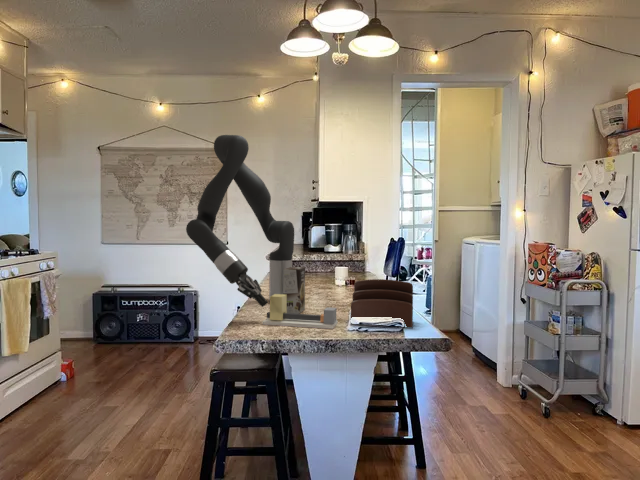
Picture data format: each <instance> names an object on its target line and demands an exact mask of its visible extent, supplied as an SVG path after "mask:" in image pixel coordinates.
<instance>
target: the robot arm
mask: <svg viewBox="0 0 640 480" xmlns="http://www.w3.org/2000/svg"><path fill="white" fill-rule="evenodd" d="M249 147H250V146H249V143H248V141H247V139H246V138H245V137H244V136H243V135H238V134H221V135H219V136H216V138H215V139H214V142H213V150H214V153H215V156H216V157H217V158H218V160H219V161H220V162H221V164H222V166H221V167H220V169H219V171H218V172H217V173H216V174H215V176H214V177H213V178H212V179H211V181H210V182H208V184H207V185H206V187H205V188H204V190H203V192H202V194H201V197H200V200H199V202H198V204H197V207H196V208H197V209H196V210H197V216H196V218H195V219H192V220H190V221H189V222H188V223H187V224H186V227H185V232H186V234H187V236H188V238H189V239H190V240H192V242H194V244H195V245H197V246H198V248H199V249H200V250H202V251H203V252H204V254H205V255H206V256H207V258H208V259H209V260H210V261H211V263H212V264H213V265H214V266H215V268H216V269H217V270H218V271H219V273H221V274H222V276H223V277H224V278H225V279H226V280H227V281H228V282H229V283H230V284H235V283H236V285H237V286H238V287H237V289H236V290H237V291H238V292H239V293H241V294H243V295H244V296H246V297H247V298H249V299H253V300H255V301H256V303H258V304H259V306H261V307H265V306H266V305H267V304H268V300H267V299H266V298H265V296H264V295H262V288H261V286H260V284H259V282H258V280H257V279H254V280H253V278H252V277H251V276H250V275H249V274H247V273H248V271H249V268H248V267H247V266H246V265H245V264H244V262H243V261H242V260H241V259H240V258H239V257H238V256H237V255H236V254H235V252H233V251H232V250H231V249H230V247H228V246H227V245H226V244H225V242H223V241H222V240H221V239H220V238H218V236H216V234H215V233H214V232H213V231H214V227H215V224H216V219H217V215H218V213H219V210H220V209H221V205H222V203H223V200H224V198H225V196H226V193H227V191H228V190H229V187H230V186H231V183H232V182H233V180H234V183H235V184H236V186H237V187H238V188H239V190H240V192H241V194H242V196H243V197H244V199H245V201H246V203H247V204H248V205H249V207H250V208H251V210H252V211H253V212H252V213H254V215H255V217H256V219H257V221H258V223H259V225H260V227H261V230H262V232H263V234H264V236H265V238H266V239H267V241H268V242H270V243H273V244H278V245H279V246H278V248H277V249H276V250H274V251H272V252H270V253H269V276H268V277H269V294H268V295H269V296H268V297H269V298H268V299H269V303H270V296H272V295H274V294H283V269H286V268H289V267H293V254H294V249H295V248H294V245H295V227H294V224H293V223H292V222H291V221H289V220H276V219H275V218H274V217H273V215H272V213H271V211H270V209H271V199H272V197H271V193H270V191H269V189H268V187H267V186H266V184H265V182H264V180H263V179H261V177H260V176H259V175H258V174H256V172H254V171H253V170H252V169H251V168H250V167H248V166H247V165H246V163H245V160H246V158H247V156H248V153H249Z"/></svg>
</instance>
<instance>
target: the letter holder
mask: <svg viewBox="0 0 640 480" xmlns="http://www.w3.org/2000/svg"><path fill="white" fill-rule="evenodd" d="M353 284H354V285H353V286H354V287H353V293H352V300H351V303H350V319H351V318H352V317H392V318H401V319H403V320H404V322H405V324H406V326H407V327H412V328H413V327H414V326H413V325H414V324H413V322H414V321H413V320H414V319H413V318H414V317H413V316H414V314H413V313H414V305H413V304H414V303H413V302H414V301H413V300H414V286H413V284H412V283H410V282H407V281H402V280H397V279H396V280H394V279H378V278H377V279H362V280H361V279H360V280H356V281H355V282H354V283H353Z"/></svg>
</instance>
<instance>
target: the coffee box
mask: <svg viewBox="0 0 640 480" xmlns="http://www.w3.org/2000/svg"><path fill="white" fill-rule="evenodd" d="M283 294H287V313H294V314H302V312H303V311H305V310H306V309H305V308H306V267H304V266H303V267H302V266H301V267H300V266H295V267H293V266H292V267H289V268H286V269H283Z"/></svg>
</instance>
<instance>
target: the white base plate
mask: <svg viewBox="0 0 640 480" xmlns="http://www.w3.org/2000/svg"><path fill="white" fill-rule="evenodd" d="M338 322H339V321H338V319H337V307H325V308H324V309H323V313H322V314H308V313H300V314H294V313H283V320H270V311H268V312H266V319H264V320H262V325H264V326H265V325H267V326H282V327H283V326H284V327H299V328H311V329H312V328H314V329H315V328H316V329H329V330H333V329H334V328H335V327H336V326H337V325H338Z"/></svg>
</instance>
